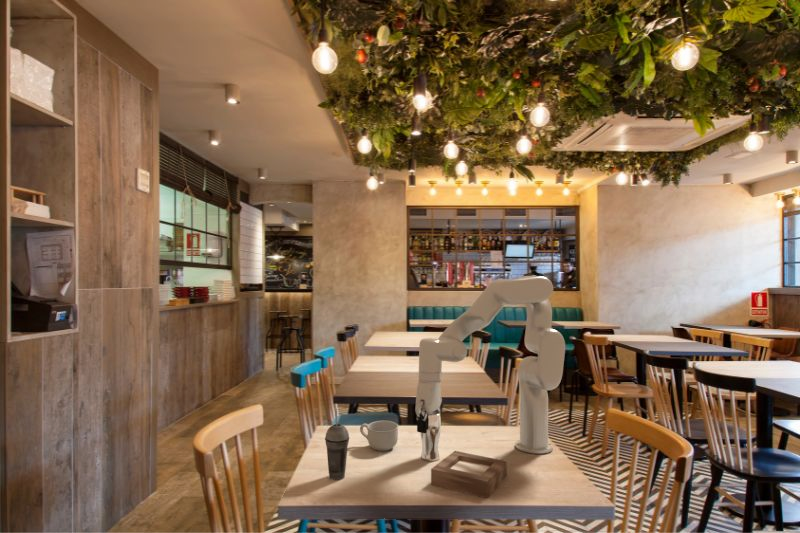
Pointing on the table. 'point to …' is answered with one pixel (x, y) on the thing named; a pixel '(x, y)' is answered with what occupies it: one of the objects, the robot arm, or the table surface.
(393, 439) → the teacup
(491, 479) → the frame
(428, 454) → the beer glass
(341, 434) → the beverage cup
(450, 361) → the robot arm
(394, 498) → the table surface
